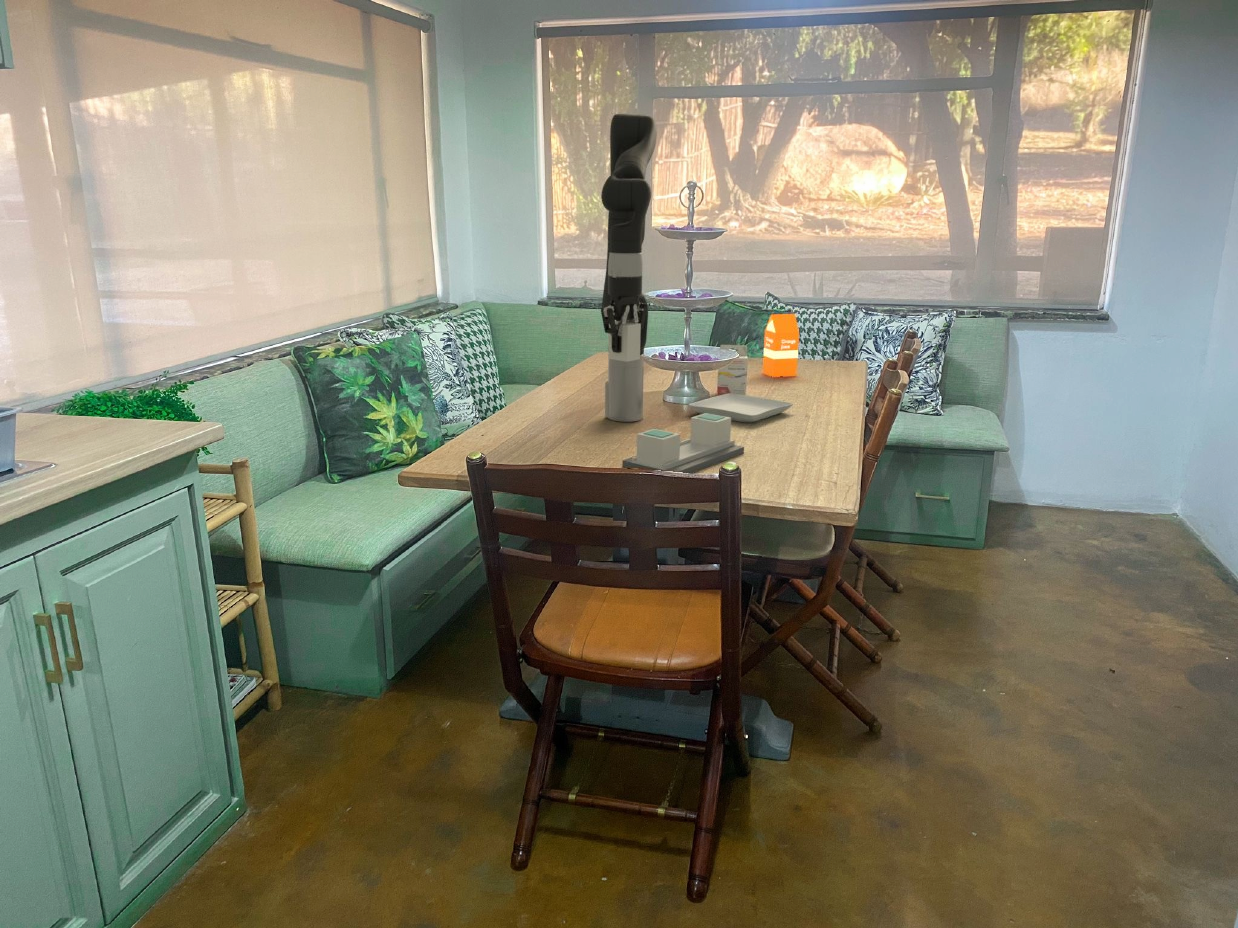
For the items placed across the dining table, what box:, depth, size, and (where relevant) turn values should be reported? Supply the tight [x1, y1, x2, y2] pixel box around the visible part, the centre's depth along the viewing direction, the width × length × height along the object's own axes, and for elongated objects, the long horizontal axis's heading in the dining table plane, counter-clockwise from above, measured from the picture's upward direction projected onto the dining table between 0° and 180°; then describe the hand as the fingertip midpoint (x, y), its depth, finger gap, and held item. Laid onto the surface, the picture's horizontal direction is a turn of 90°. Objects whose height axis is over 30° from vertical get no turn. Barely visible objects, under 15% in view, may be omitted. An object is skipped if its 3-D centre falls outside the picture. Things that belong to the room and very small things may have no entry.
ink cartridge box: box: [716, 344, 749, 396], centre depth 266 cm, size 9×5×15 cm, turn 84°
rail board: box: [621, 413, 745, 474], centre depth 200 cm, size 14×27×8 cm, turn 140°
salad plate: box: [688, 393, 793, 423], centre depth 244 cm, size 21×21×3 cm
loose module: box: [607, 322, 641, 362], centre depth 202 cm, size 6×4×8 cm
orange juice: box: [762, 313, 800, 378], centre depth 298 cm, size 8×9×20 cm
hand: (624, 350), depth 202 cm, fingers closed on loose module, 4 cm apart
